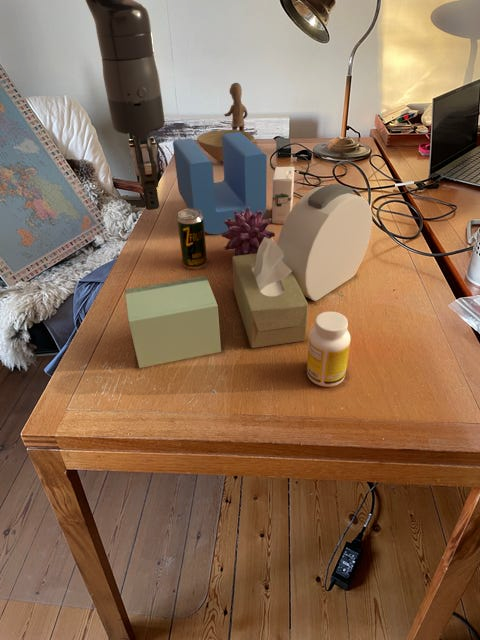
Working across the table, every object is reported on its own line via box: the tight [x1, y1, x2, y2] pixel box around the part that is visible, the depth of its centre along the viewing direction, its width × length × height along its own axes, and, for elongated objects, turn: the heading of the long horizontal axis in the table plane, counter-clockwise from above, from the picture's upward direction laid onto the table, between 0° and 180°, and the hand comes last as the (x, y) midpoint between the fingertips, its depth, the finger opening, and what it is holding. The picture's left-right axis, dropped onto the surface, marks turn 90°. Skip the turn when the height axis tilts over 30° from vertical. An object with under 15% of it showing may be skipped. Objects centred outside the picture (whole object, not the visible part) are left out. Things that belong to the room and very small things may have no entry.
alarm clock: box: [276, 183, 373, 302], centre depth 88 cm, size 21×8×20 cm, turn 135°
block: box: [172, 132, 268, 235], centre depth 114 cm, size 18×18×18 cm
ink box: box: [271, 166, 295, 225], centre depth 115 cm, size 9×5×12 cm, turn 172°
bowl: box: [196, 129, 255, 162], centre depth 149 cm, size 18×18×8 cm
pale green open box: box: [124, 275, 222, 369], centre depth 78 cm, size 14×9×10 cm, turn 105°
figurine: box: [223, 82, 248, 131], centre depth 159 cm, size 9×8×20 cm
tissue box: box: [231, 237, 309, 349], centre depth 82 cm, size 19×10×16 cm, turn 10°
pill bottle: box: [306, 311, 351, 388], centre depth 70 cm, size 6×6×11 cm
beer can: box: [177, 208, 208, 270], centre depth 98 cm, size 5×5×12 cm
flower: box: [220, 206, 276, 256], centre depth 100 cm, size 12×12×12 cm
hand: (152, 207), depth 75 cm, fingers closed
